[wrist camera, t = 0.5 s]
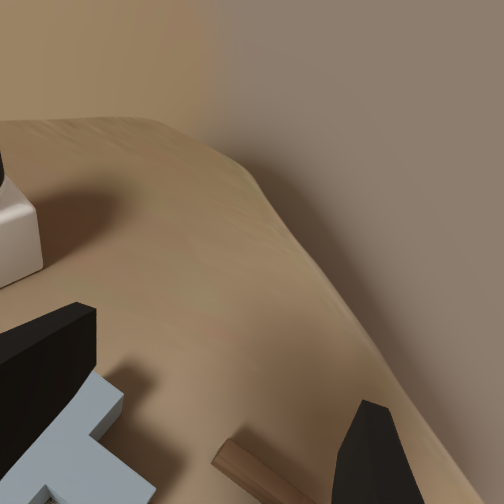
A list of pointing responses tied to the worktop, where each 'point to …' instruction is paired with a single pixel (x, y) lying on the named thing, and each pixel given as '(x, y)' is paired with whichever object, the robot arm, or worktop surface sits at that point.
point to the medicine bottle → (17, 233)
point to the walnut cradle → (256, 476)
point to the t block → (77, 457)
